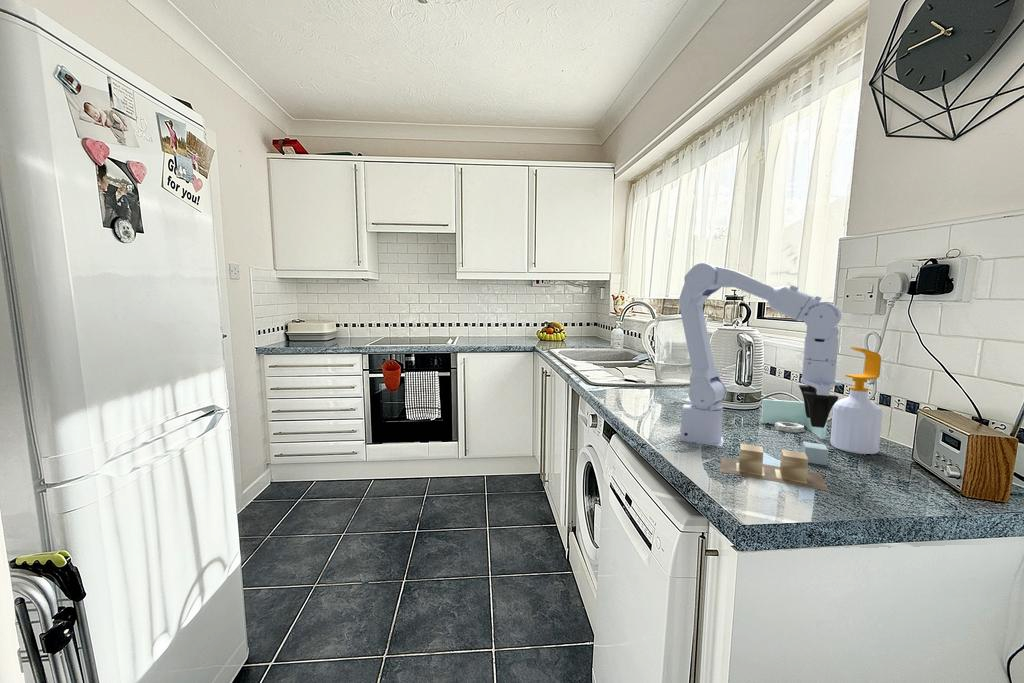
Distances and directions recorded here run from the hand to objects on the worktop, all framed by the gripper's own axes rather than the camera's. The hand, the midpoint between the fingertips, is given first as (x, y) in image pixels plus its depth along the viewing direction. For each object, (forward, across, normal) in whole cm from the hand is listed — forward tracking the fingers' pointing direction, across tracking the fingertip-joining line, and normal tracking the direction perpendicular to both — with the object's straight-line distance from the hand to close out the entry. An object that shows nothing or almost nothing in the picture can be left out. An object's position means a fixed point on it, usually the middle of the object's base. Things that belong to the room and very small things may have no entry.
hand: (814, 422), depth 91 cm
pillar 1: (+9, -11, +12) cm, 18 cm away
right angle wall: (+10, +28, +1) cm, 29 cm away
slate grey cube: (+10, +2, -1) cm, 10 cm away
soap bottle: (+10, +18, -10) cm, 23 cm away
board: (+9, -11, +8) cm, 17 cm away
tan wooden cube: (+9, -11, +4) cm, 15 cm away
